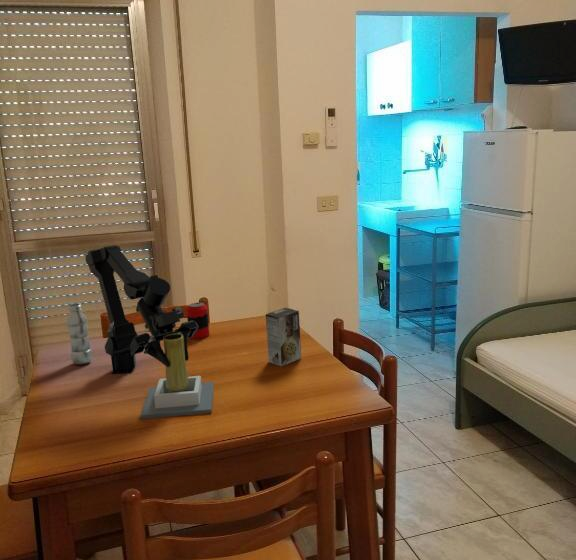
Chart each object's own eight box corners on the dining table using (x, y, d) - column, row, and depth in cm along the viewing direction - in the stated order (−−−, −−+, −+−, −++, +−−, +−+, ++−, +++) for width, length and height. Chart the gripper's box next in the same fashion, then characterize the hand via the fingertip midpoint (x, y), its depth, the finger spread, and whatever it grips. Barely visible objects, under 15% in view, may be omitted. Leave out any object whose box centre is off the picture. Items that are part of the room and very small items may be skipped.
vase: (193, 385, 151) (189, 335, 147) (174, 393, 146) (170, 342, 143) (180, 380, 155) (176, 331, 152) (161, 387, 151) (156, 337, 147)
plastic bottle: (94, 364, 182) (86, 305, 177) (72, 368, 179) (63, 308, 175) (93, 358, 188) (85, 301, 183) (71, 361, 185) (63, 304, 181)
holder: (140, 418, 142) (139, 402, 141) (151, 390, 159) (149, 375, 158) (211, 412, 143) (210, 396, 142) (214, 384, 161) (212, 370, 160)
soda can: (210, 332, 210) (207, 301, 207) (208, 338, 202) (206, 306, 200) (190, 333, 209) (187, 302, 207) (187, 339, 202) (185, 308, 199)
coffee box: (287, 354, 183) (285, 307, 179) (302, 358, 178) (299, 310, 175) (267, 362, 176) (264, 313, 173) (281, 367, 172) (279, 317, 168)
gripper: (130, 306, 142) (155, 357, 136) (192, 292, 154) (218, 338, 149) (119, 329, 149) (143, 379, 144) (179, 314, 162) (203, 359, 156)
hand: (178, 363), depth 148 cm, fingers closed on vase, 5 cm apart
